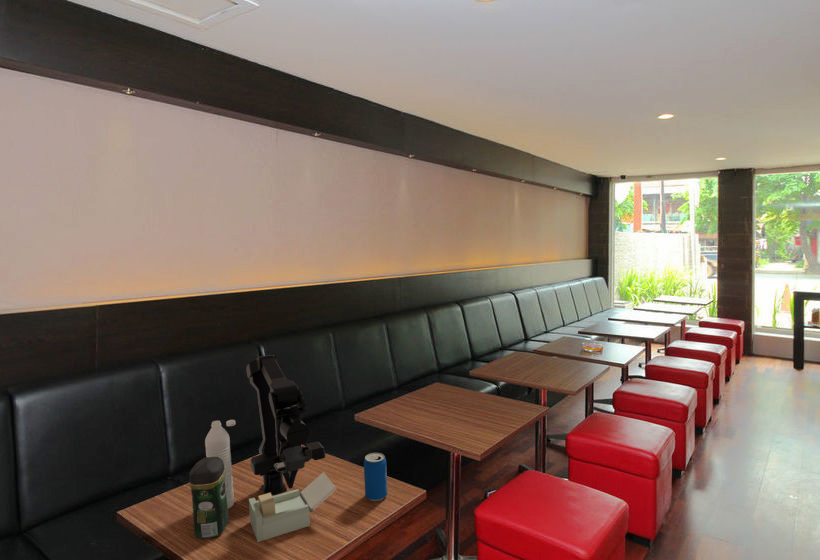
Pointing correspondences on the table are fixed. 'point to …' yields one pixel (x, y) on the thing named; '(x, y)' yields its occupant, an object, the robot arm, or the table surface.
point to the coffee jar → (209, 497)
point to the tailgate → (317, 491)
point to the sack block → (266, 505)
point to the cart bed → (279, 516)
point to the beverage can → (375, 476)
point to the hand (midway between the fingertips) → (290, 487)
